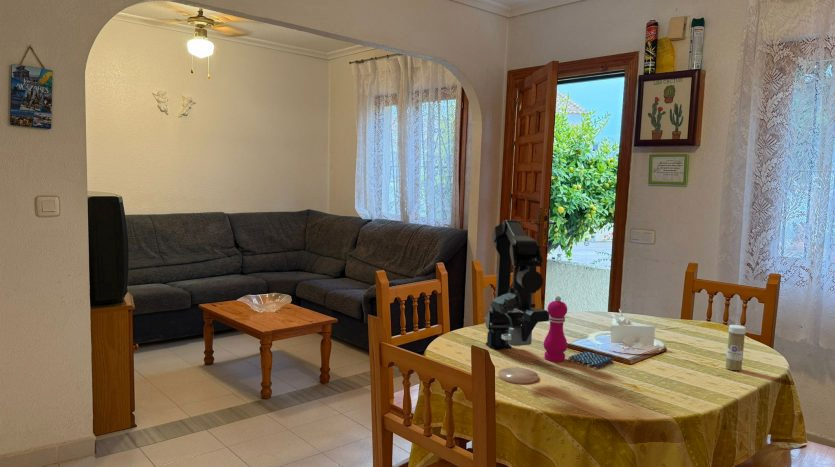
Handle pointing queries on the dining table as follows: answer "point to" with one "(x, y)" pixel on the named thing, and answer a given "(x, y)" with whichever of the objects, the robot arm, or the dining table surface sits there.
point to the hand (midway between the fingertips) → (520, 339)
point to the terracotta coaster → (518, 375)
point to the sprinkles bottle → (735, 347)
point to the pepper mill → (556, 332)
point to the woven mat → (590, 360)
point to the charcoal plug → (516, 336)
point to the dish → (629, 334)
